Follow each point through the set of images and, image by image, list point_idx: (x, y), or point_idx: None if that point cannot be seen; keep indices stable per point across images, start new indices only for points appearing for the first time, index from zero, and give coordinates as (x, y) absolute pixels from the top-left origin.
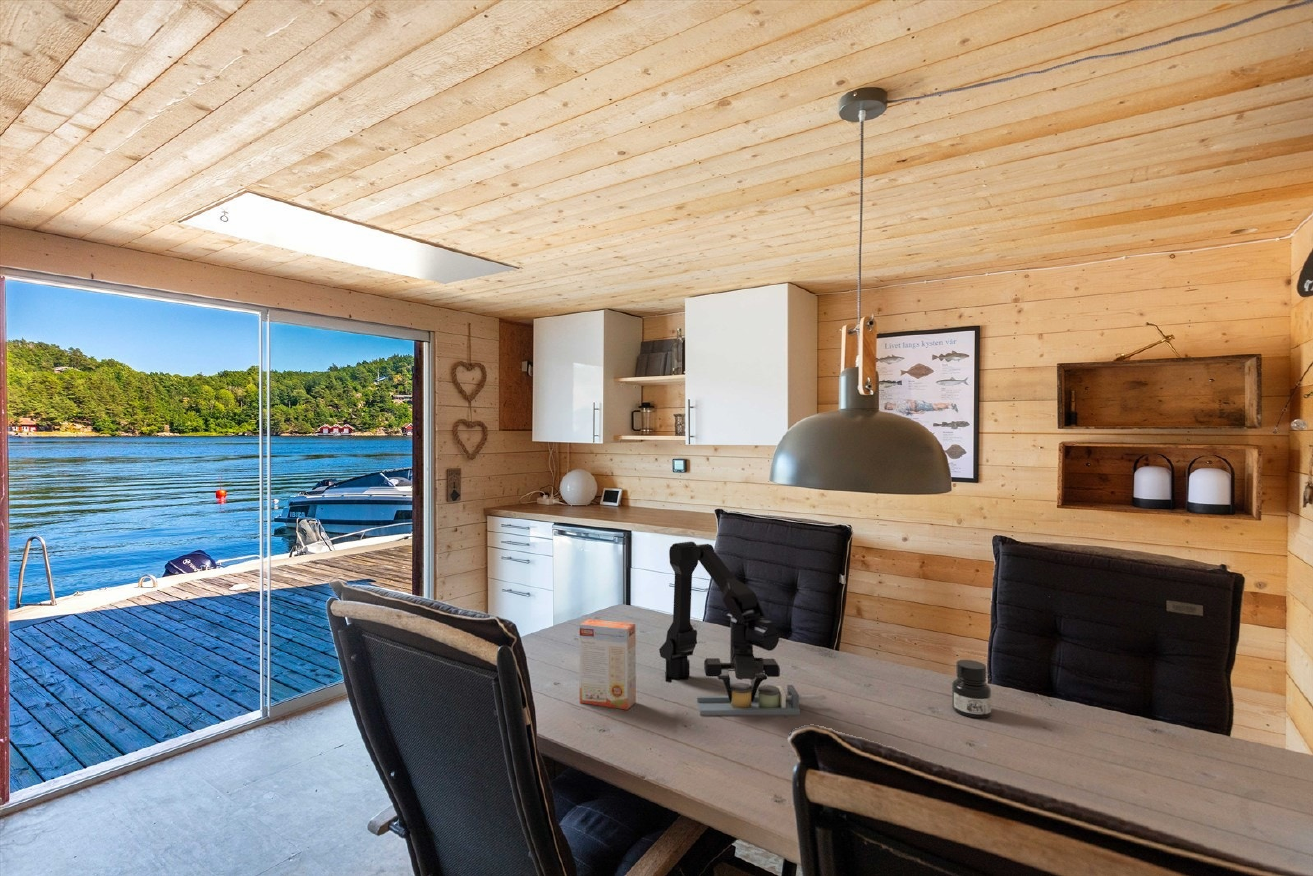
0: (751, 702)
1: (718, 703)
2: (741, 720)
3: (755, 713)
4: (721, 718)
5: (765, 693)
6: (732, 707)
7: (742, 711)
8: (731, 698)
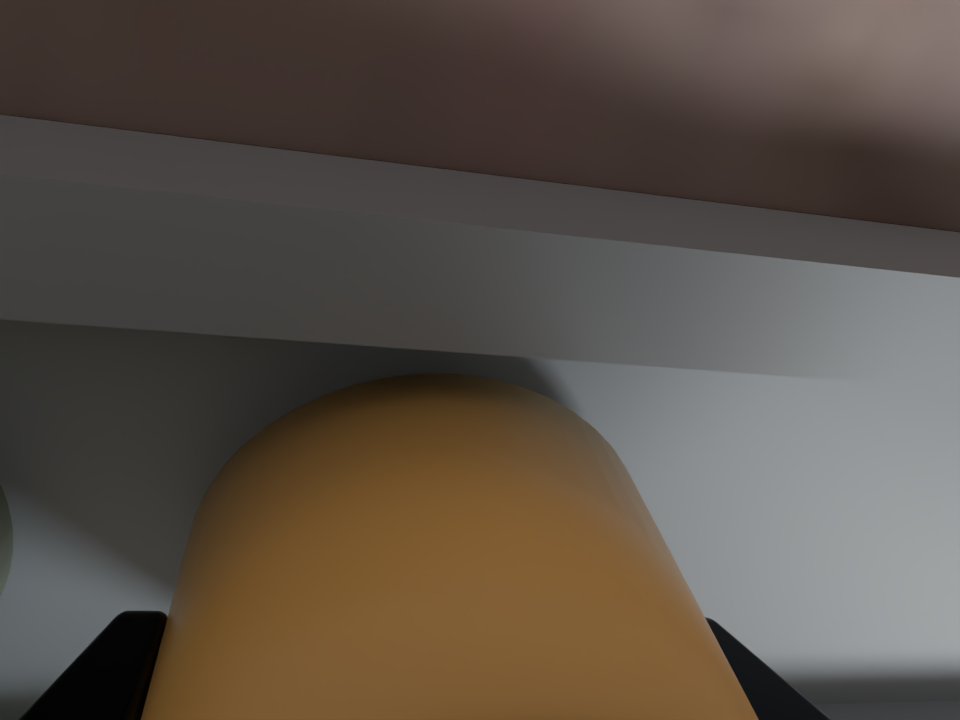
0: None
1: None
2: (571, 21)
3: (147, 160)
4: (937, 195)
5: None
6: None
7: (526, 216)
8: None
